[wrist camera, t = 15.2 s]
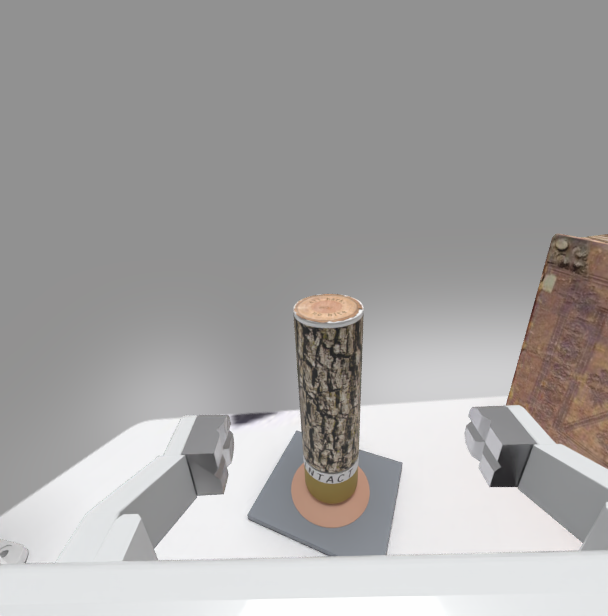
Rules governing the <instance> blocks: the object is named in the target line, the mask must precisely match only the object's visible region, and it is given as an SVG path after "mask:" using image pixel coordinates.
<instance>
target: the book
mask: <svg viewBox="0 0 608 616" xmlns="http://www.w3.org/2000/svg"><path fill="white" fill-rule="evenodd" d="M508 405H520V406H522V407H523V408H524V409H525V410H526V411H527V412H528V413H529V414H530V415H531V416H532V417H533V419H534V420H535V421H536V422H537V423H538V424H539V425H540V426H541V428H542V429H543V430H544V431H545V432H546V433H547V434H548V435H549V436H550V438H551V439H552V440H553V441H554V442H555V443H556V444H562V445H564V446H566V447H568V448H570V449H571V450H573V451H575V452H577V453H579V454H581V455H583V456H584V457H586V458H588V459H590V460H592V461H594V462H595V463H597V464H599V465H601V466H603V467H605V468H606V469H608V234H605V235H598V236H590V237H582V238H579V237H574V236H569V235H564V234H555V235H554V236H553V238H552V241H551V244H550V248H549V252H548V255H547V259H546V262H545V266H544V269H543V273H542V277H541V280H540V284H539V288H538V291H537V295H536V298H535V302H534V306H533V309H532V313H531V317H530V320H529V324H528V327H527V331H526V335H525V338H524V342H523V345H522V349H521V353H520V356H519V360H518V363H517V367H516V371H515V374H514V378H513V381H512V385H511V389H510V392H509V396H508V399H507V403H506V406H508Z"/></svg>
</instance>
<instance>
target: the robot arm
mask: <svg viewBox="0 0 608 616" xmlns="http://www.w3.org/2000/svg"><path fill="white" fill-rule="evenodd" d="M469 418H470V419H471V422H470V423H469V424H468V425H467V426H466V429H465V441H466V445H467V448H468V450H469V452H470V454H471V455H472V456H473V457H474V458H476V459H477V460H478V461H480V464H479V470H480V471H481V473H482V475H483V476H484V478H485V480H486V482H487V483H488V485H489V487H518V489H519V490H520V491H521V492H522V493H524V494H525V495H526V496H527V497H528V498H530V499H531V500H532V501H533V502H534V503H536V504H537V505H538V506H539V507H540V508H542V509H543V510H544V511H545V512H546V513H548V514H549V515H550V516H551V517H552V518H554V519H555V520H556V521H557V522H558V523H560V524H561V525H562V526H563V527H564V528H566V529H567V530H568V531H569V532H570V533H572V534H573V535H574V536H575V537H576V538H578V539H579V540H580V541H581V542H582V543H583V544H582V546H581V548H580V550H579V551H538V552H496V553H454V554H413V555H370V556H326V557H282V558H239V559H195V560H158V558H157V556H156V553H155V551H154V548H155V547H156V546H157V545H158V543H159V542H160V541H161V540H162V539H163V537H164V536H165V535H166V534H167V533H168V531H169V530H170V529H171V528H172V527H173V525H174V524H175V523H176V522H177V521H178V519H179V518H180V517H181V516H182V515H183V514H184V512H185V511H186V510H187V509H188V508H189V506H190V505H191V504H192V503H193V502H194V500H195V499H196V498H197V496H201V495H218V494H224V491H225V487H226V483H227V479H228V470H227V467H228V466H229V465H230V464H231V462H232V458H233V451H234V438H233V433H232V432H231V431H229V428H230V425H231V422H230V418H229V416H228V415H199V416H183V417H182V418H181V419H180V421H179V424H178V426H177V428H176V430H175V432H174V434H173V436H172V438H171V440H170V442H169V444H168V446H167V448H166V450H165V453H164V455H163V456H158V457H156V458H155V459H154V460H153V461H151V462H150V463H149V464H148V465H146V466H145V467H144V468H143V469H141V470H140V471H139V472H137V473H136V474H135V475H134V476H132V477H131V478H130V479H129V480H127V481H126V482H125V483H124V484H122V485H121V486H120V487H119V488H117V489H116V490H115V491H113V492H112V493H111V494H110V495H108V496H107V497H106V498H105V499H103V500H102V501H101V502H100V503H98V504H97V505H96V506H95V507H93V508H92V509H91V510H90V511H88V512H87V513H86V514H85V515H84V517H83V518H82V520H81V522H80V523H79V525H78V526H77V528H76V530H75V531H74V533H73V534H72V536H71V538H70V539H69V541H68V543H67V544H66V546H65V547H64V549H63V551H62V552H61V554H60V555H59V557H58V559H57V560H56V562H55V563H25V561H26V558H27V556H28V550H27V549H26V548H25V547H24V546H23V545H21V544H18V543H14V542H11V541H7V540H3V539H0V616H608V469H606V468H605V467H603V466H601V465H599V464H597V463H595V462H594V461H592V460H590V459H588V458H586V457H584V456H583V455H581V454H579V453H577V452H575V451H573V450H571V449H570V448H568V447H566V446H564V445H562V444H556V443H555V442H554V441H553V440H552V439H551V438H550V436H549V435H548V434H547V433H546V432H545V431H544V430H543V429H542V428H541V426H540V425H539V424H538V423H537V422H536V421H535V420H534V419H533V417H532V416H531V415H530V414H529V413H528V412H527V411H526V410H525V409H524V408H523V407H522V406H520V405H508V406H487V407H472V408H471V410H470V412H469ZM5 555H6V556H5ZM4 556H5V557H4Z"/></svg>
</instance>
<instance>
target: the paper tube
mask: <svg viewBox="0 0 608 616" xmlns="http://www.w3.org/2000/svg"><path fill="white" fill-rule="evenodd" d="M294 327H295V341H296V357H297V370H298V386H299V400H300V415H301V429H302V444H303V458H304V470H305V482H306V486H307V488H308V490H309V492H310V493H311V494H312V495H313V496H314V497H315V498H316V499H318V500H319V501H322V502H324V503H329V504H336V503H340V502H343V501H345V500H347V499H348V498H350V497H351V496H352V494H353V493H354V491H355V490H356V487H357V482H358V459H359V430H360V400H361V399H360V397H361V371H362V342H363V341H362V340H363V339H362V338H363V305H362V303H361V302H360V301H358V300H357V299H355V298H352V297H349V296H345V295H339V294H321V295H314V296H310V297H306V298H304V299H302V300H300V301H298V302H297V303H296V304H295V306H294Z"/></svg>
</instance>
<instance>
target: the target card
mask: <svg viewBox="0 0 608 616" xmlns="http://www.w3.org/2000/svg"><path fill="white" fill-rule="evenodd" d="M401 469H402V462H398V461H395V460H392V459H388V458H385V457H382V456H379V455H375V454H372V453H369V452H365V451H362V450H359V459H358V482H357V487H356V490H355V491H354V493H353V494H352V496H351V497H350V498H348V499H347V500H345V501H343V502H340V503H336V504H329V503H324V502H322V501H319V500H318V499H316V498H315V497H314V496H313V495H312V494H311V493H310V492H309V490H308V488H307V486H306V482H305V470H304V458H303V444H302V432H300V431H296V433H295V434H294V436H293V438H292V439H291V441H290V443H289V445H288V446H287V448H286V450H285V451H284V453H283V455H282V457H281V458H280V460H279V462H278V463H277V465H276V467H275V469H274V470H273V472H272V474H271V475H270V477H269V479H268V481H267V482H266V484H265V486H264V487H263V489H262V491H261V493H260V494H259V496H258V498H257V499H256V501H255V503H254V505H253V506H252V508H251V510H250V511H249V513H248V519H249V520H251V521H254V522H256V523H258V524H260V525H263V526H265V527H267V528H269V529H271V530H274V531H276V532H278V533H280V534H282V535H285V536H287V537H289V538H291V539H293V540H296V541H298V542H300V543H302V544H305V545H307V546H309V547H311V548H313V549H316V550H318V551H320V552H322V553H324V554H327V555H329V556H370V555H386V552H387V547H388V541H389V536H390V530H391V525H392V519H393V513H394V508H395V502H396V497H397V491H398V486H399V480H400V475H401Z"/></svg>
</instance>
